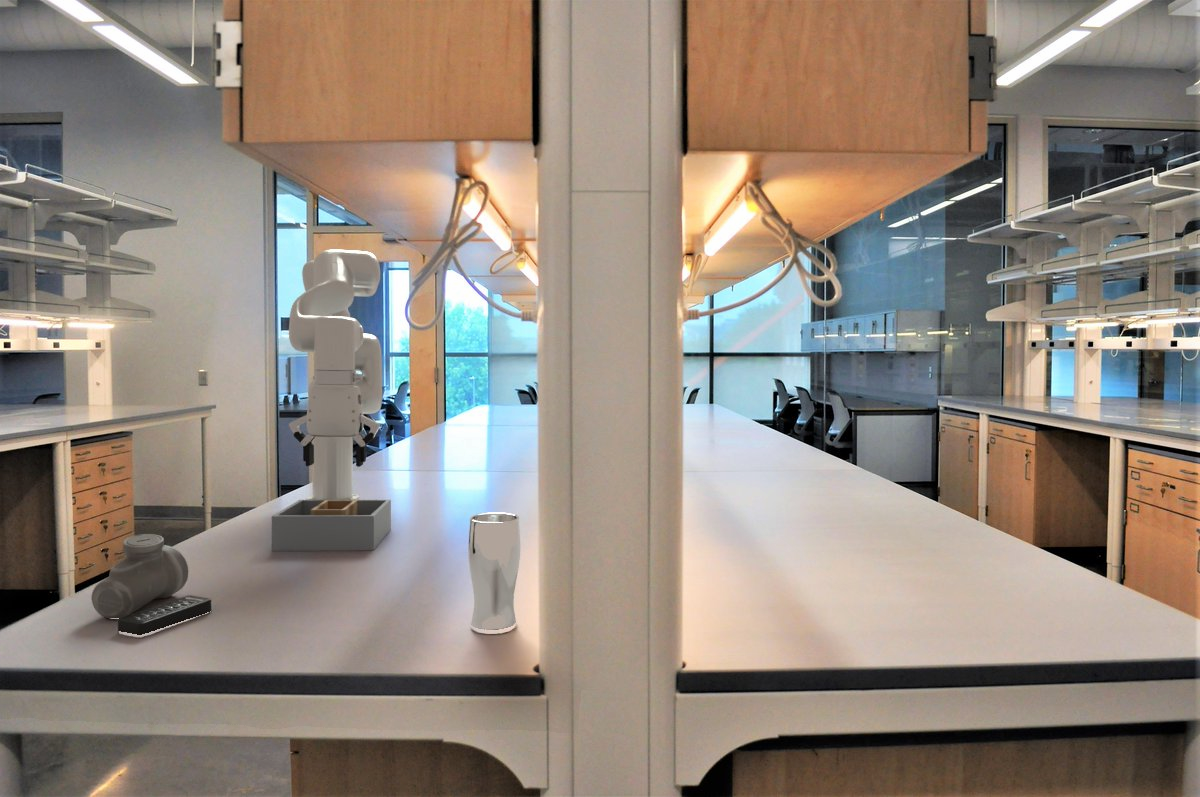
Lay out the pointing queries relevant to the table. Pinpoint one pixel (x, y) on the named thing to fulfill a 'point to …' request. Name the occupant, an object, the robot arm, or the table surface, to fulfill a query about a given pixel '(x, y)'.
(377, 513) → the box
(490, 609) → the beer glass
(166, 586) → the pipe fitting
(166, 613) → the multiport hub
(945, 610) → the table surface
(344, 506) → the oak crate
